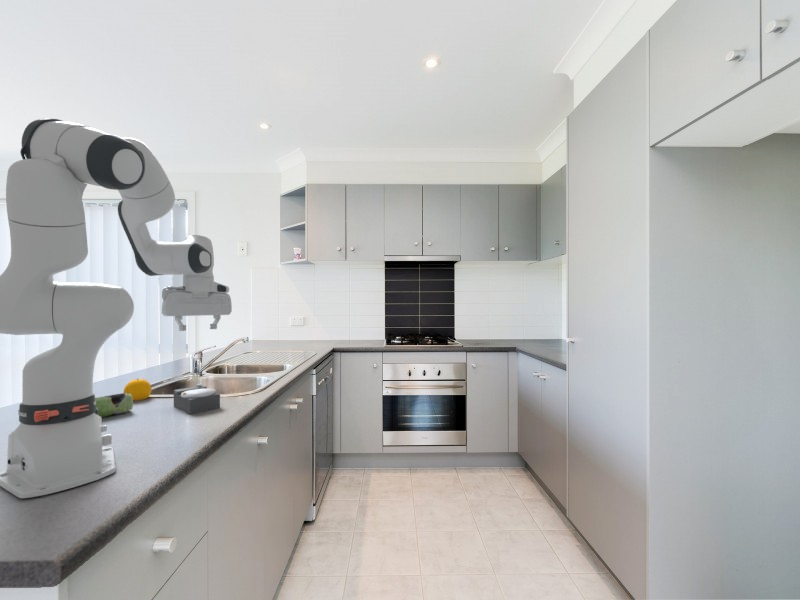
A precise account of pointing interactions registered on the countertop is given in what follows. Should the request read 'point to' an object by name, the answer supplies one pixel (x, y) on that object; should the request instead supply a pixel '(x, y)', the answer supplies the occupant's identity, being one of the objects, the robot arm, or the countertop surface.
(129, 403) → the beverage can
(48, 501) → the countertop surface
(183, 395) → the body block
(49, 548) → the countertop surface
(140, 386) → the apple
